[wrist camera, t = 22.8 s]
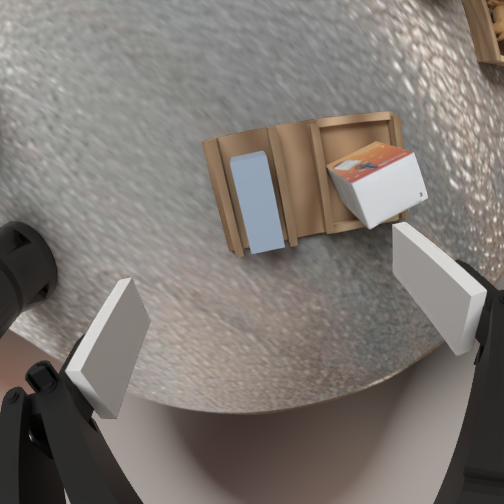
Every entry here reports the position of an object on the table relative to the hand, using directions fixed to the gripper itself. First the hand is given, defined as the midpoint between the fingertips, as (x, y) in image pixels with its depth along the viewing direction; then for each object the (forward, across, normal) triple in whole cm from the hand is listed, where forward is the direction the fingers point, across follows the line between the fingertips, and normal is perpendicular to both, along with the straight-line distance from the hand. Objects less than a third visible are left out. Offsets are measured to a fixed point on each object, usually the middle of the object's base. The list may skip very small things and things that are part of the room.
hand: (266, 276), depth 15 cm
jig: (+27, +8, -2) cm, 28 cm away
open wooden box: (+27, +43, +22) cm, 55 cm away
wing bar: (+26, 0, -3) cm, 26 cm away
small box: (+26, +14, -2) cm, 29 cm away
